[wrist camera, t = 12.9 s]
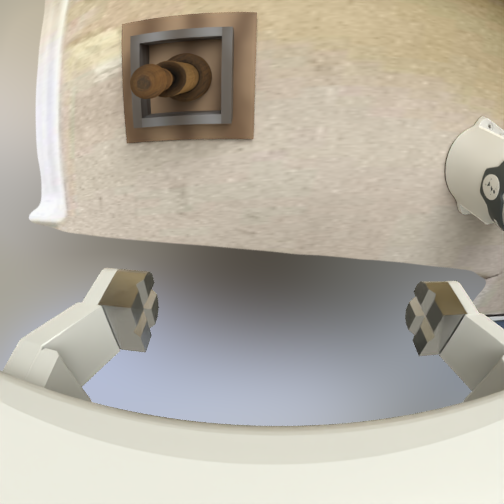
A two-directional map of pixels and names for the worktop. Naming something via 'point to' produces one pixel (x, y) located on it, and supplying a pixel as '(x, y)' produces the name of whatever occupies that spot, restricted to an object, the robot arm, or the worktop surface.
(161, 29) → the holder board
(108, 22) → the worktop surface
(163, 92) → the wooden pepper mill
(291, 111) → the worktop surface
